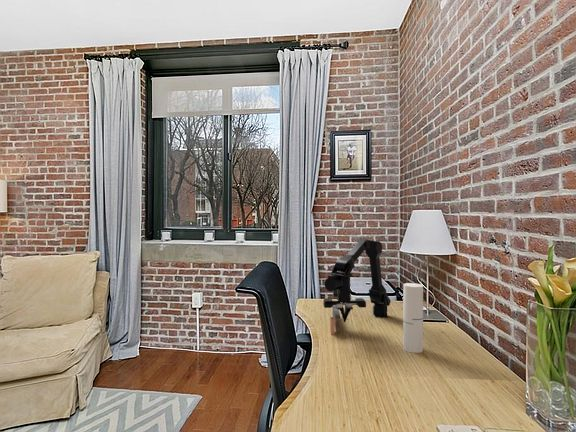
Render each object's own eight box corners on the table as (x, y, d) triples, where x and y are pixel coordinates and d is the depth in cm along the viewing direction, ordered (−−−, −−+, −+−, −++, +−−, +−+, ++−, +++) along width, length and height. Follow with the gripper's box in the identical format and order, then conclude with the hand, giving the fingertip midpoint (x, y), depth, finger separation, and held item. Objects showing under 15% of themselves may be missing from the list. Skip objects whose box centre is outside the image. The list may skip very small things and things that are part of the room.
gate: (333, 320, 159) (333, 306, 159) (337, 320, 159) (337, 306, 159) (335, 332, 143) (335, 316, 143) (340, 332, 143) (340, 316, 143)
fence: (335, 315, 169) (335, 301, 169) (340, 334, 142) (340, 317, 142) (328, 315, 170) (328, 300, 170) (330, 334, 143) (330, 317, 143)
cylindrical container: (424, 353, 123) (424, 287, 123) (404, 352, 125) (404, 286, 124) (420, 346, 130) (421, 283, 130) (402, 344, 132) (402, 282, 131)
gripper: (361, 283, 156) (361, 316, 156) (321, 284, 157) (322, 316, 157) (366, 288, 145) (366, 323, 145) (324, 289, 145) (324, 324, 145)
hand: (344, 321), depth 148 cm, fingers closed
